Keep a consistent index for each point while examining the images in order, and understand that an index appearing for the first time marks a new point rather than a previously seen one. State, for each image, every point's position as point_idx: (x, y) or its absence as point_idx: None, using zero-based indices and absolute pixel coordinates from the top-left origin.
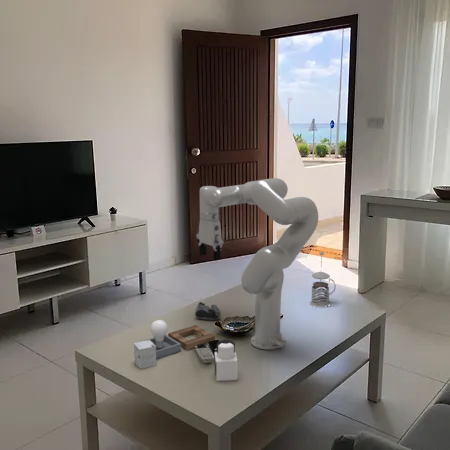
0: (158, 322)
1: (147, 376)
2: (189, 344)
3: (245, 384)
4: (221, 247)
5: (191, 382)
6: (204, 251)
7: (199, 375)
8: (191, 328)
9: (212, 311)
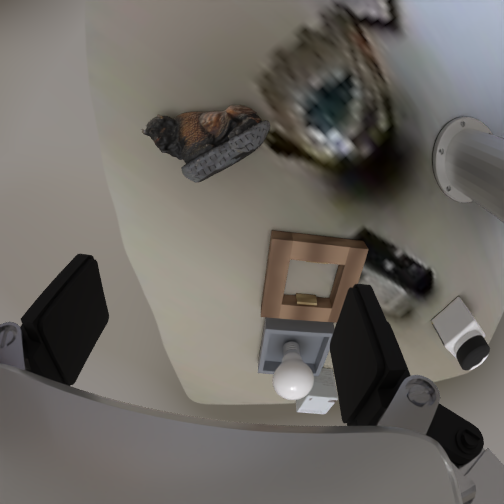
0: (299, 398)
1: None
2: None
3: (482, 310)
4: (466, 432)
5: (414, 358)
6: (83, 302)
7: (415, 342)
8: (282, 262)
9: (251, 151)
